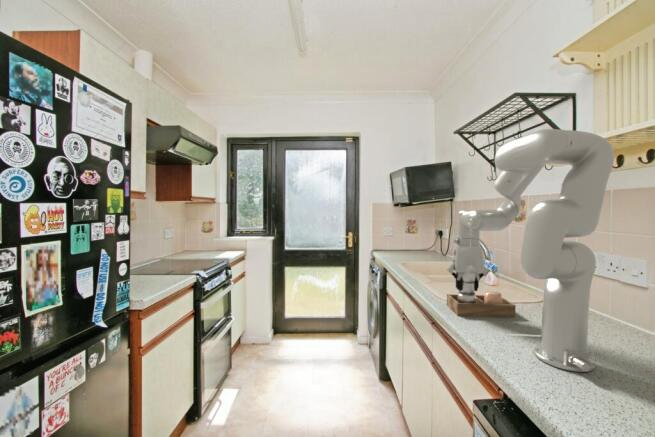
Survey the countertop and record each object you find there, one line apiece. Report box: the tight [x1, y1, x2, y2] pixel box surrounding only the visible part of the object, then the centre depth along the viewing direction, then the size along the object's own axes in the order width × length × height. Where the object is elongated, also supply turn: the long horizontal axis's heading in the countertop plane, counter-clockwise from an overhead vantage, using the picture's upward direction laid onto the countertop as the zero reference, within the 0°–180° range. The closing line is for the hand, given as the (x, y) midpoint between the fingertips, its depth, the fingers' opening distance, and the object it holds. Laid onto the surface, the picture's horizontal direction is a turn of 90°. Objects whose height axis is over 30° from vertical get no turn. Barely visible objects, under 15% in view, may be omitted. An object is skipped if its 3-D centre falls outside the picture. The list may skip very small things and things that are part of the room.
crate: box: [446, 293, 516, 318], centre depth 115 cm, size 12×20×5 cm, turn 87°
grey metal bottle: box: [457, 266, 476, 304], centre depth 115 cm, size 6×7×20 cm
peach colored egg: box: [483, 290, 502, 304], centre depth 115 cm, size 6×6×7 cm
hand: (466, 289), depth 115 cm, fingers closed on grey metal bottle, 5 cm apart
